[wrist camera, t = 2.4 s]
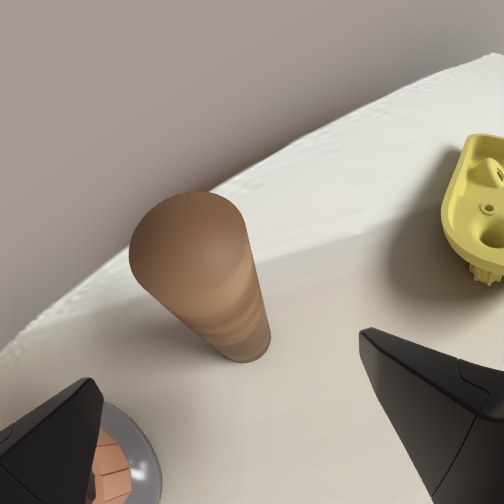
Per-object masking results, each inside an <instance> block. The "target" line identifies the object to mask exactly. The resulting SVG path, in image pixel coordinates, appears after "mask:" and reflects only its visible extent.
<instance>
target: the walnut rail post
mask: <svg viewBox="0 0 504 504" xmlns="http://www.w3.org/2000/svg"><path fill="white" fill-rule="evenodd" d="M129 263H130V267H131V271H132V273H133V275H134V277H135V278H136V280H137V282H138V283H139V284H140V285H141V286H142V287H143V288H144V289H145V290H146V291H147V292H149V293H150V294H151V295H152V296H153V297H154V298H155V299H156V300H158V301H159V302H160V303H161V304H162V305H163V306H164V307H166V308H167V309H168V310H169V311H170V312H171V313H173V314H174V315H175V316H176V317H177V318H178V319H180V320H181V321H182V322H183V323H184V324H186V325H187V326H188V327H189V328H190V329H192V330H193V331H194V332H195V333H197V334H198V335H199V336H200V337H202V338H203V339H204V340H205V341H207V342H208V343H209V344H210V345H212V346H213V347H214V348H215V349H217V350H218V351H219V352H221V353H222V354H223V355H225V356H226V357H227V358H229V359H230V360H232V361H235V362H239V363H248V362H252V361H255V360H257V359H259V358H260V357H261V356H262V355H263V354H264V353H265V352H266V351H267V349H268V347H269V345H270V341H271V332H270V328H269V324H268V319H267V315H266V311H265V307H264V302H263V298H262V294H261V290H260V285H259V281H258V277H257V273H256V268H255V264H254V260H253V256H252V251H251V247H250V243H249V239H248V234H247V230H246V226H245V222H244V219H243V217H242V215H241V213H240V211H239V210H238V209H237V208H236V206H235V205H234V204H232V203H231V202H230V201H229V200H227V199H226V198H224V197H222V196H220V195H217V194H214V193H210V192H201V191H195V192H186V193H182V194H178V195H175V196H173V197H170V198H168V199H166V200H164V201H162V202H161V203H159V204H158V205H157V206H155V207H154V208H152V209H151V210H150V211H149V212H148V213H147V214H146V215H145V216H144V217H143V219H142V220H141V221H140V223H139V224H138V226H137V227H136V229H135V231H134V234H133V236H132V239H131V242H130V247H129Z"/></svg>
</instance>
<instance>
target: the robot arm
mask: <svg viewBox="0 0 504 504" xmlns="http://www.w3.org/2000/svg"><path fill="white" fill-rule="evenodd" d="M359 353H360V358H361V360H362V363H363V365H364V367H365V370H366V372H367V375H368V377H369V380H370V382H371V384H372V387H373V389H374V392H375V394H376V396H377V398H378V400H379V402H380V404H381V405H382V407H383V409H384V411H385V413H386V414H387V416H388V418H389V420H390V421H391V423H392V425H393V427H394V429H395V431H396V432H397V434H398V436H399V438H400V440H401V442H402V443H403V445H404V447H405V449H406V451H407V453H408V454H409V456H410V458H411V460H412V462H413V464H414V466H415V468H416V470H417V471H418V473H419V475H420V477H421V479H422V481H423V483H424V485H425V487H426V489H427V491H428V493H429V495H430V497H432V498H431V499H432V501H433V503H434V504H504V371H500V370H496V369H492V368H488V367H484V366H480V365H477V364H474V363H470V362H467V361H464V360H462V359H458V360H457V358H456V357H453V356H450V355H447V354H444V353H441V352H438V351H436V350H433V349H430V348H427V347H424V346H422V345H419V344H416V343H413V342H410V341H408V340H405V339H402V338H400V337H397V336H394V335H391V334H389V333H386V332H383V331H381V330H378V329H375V328H372V327H370V328H367V329H364V330H361V331H360V332H359ZM103 403H104V398H103V395H102V393H101V391H100V390H99V388H98V386H97V385H96V383H95V381H94V380H93V379H92V378H81V379H79V380H78V381H76V382H75V383H73V384H72V385H70V386H69V387H67V388H66V389H64V390H63V391H61V392H60V393H58V394H57V395H55V396H54V397H52V398H51V399H49V400H48V401H46V402H45V403H43V404H42V405H40V406H39V407H37V408H36V409H34V410H33V411H31V412H30V413H28V414H27V415H25V416H24V417H22V418H20V419H19V420H17V421H16V422H15V423H13V424H11V425H10V426H8V427H7V428H5V429H3V430H2V431H0V504H86V498H87V492H88V486H89V480H90V475H91V470H92V465H93V460H94V455H95V451H96V446H97V442H98V437H99V431H100V424H101V416H102V410H103Z"/></svg>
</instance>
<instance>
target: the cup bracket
mask: <svg viewBox="0 0 504 504" xmlns="http://www.w3.org/2000/svg"><path fill="white" fill-rule="evenodd" d="M161 493H162V476H161V470H160V466H159V462H158V459H157V457H156V454H155V452H154V450H153V448H152V446H151V444H150V442H149V441H148V439H147V437H146V436H145V435H144V433H143V432H142V430H141V429H140V428H139V427H138V426H137V425H136V423H135V422H134V421H133V420H132V419H130V418H129V417H128V416H127V415H126V414H125V413H123V412H122V411H121V410H119V409H118V408H116V407H114V406H113V405H110V404H108V403H106V402H104V403H103V410H102V416H101V424H100V431H99V437H98V442H97V446H96V451H95V455H94V460H93V465H92V470H91V475H90V480H89V486H88V492H87V498H86V504H158V503H159V501H160V498H161Z"/></svg>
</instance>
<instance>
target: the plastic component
mask: <svg viewBox="0 0 504 504" xmlns="http://www.w3.org/2000/svg"><path fill="white" fill-rule="evenodd" d="M441 221H442V226H443V230H444V233H445V236H446V238H447V240H448V242H449V244H450V245H451V247H452V248H453V249H454V250H455V251H456V253H457V254H458V255H460V256H461V257H462V258H463V259H464V260H466V261H467V262H469V263H470V266H469V271H470V272H472V273H473V274H474V280H475V281H478V280H479V281H481V282H484V283H487V286H491V283H492V282H495V281H498V282H500V281H501V278H502V275H503V276H504V138H503V137H499V136H494V135H489V134H473V135H470V136H468V137H467V139H466V141H465V144H464V147H463V150H462V153H461V155H460V158H459V160H458V163H457V166H456V168H455V171H454V173H453V176H452V178H451V180H450V183H449V185H448V188H447V190H446V193H445V196H444V199H443V202H442V207H441Z"/></svg>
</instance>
